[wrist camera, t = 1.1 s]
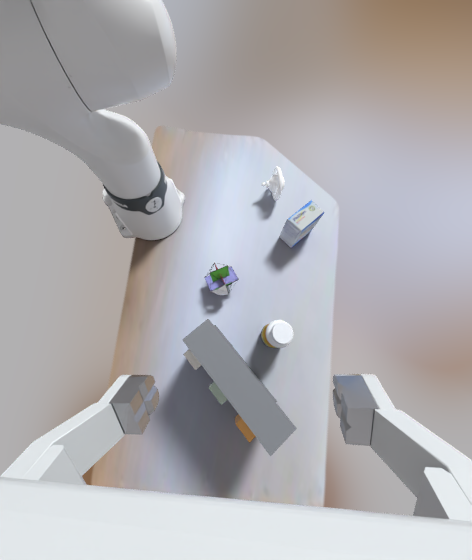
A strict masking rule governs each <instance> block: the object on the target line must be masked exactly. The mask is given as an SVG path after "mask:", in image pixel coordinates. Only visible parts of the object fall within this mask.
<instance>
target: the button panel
mask: <svg viewBox="0 0 472 560" xmlns="http://www.w3.org/2000/svg"><path fill="white" fill-rule="evenodd" d="M183 341H184V343H185V344H186V345H187V347H188V348H189V349H190V351H191V352H192V353H193V355H194V356H195V357H196V358H197V360H198V361H199V362H200V364H201V365H202V366H203V368H204V369H205V370H206V372H207V373H208V374H209V376H210V377H211V378H212V380H213V381H214V382H215V384H216V385H217V386H218V387H219V389H220V390H221V391H222V393H223V394H224V395H225V397H226V398H227V399H228V401H229V402H230V403H231V405H232V406H233V407H234V409H235V410H236V411H237V413H238V414H239V415H240V416H241V418H242V419H243V420H244V422H245V423H246V424H247V426H248V427H249V428H250V430H251V431H252V432H253V434H254V435H255V436H256V438H257V439H258V440H259V442H260V443H261V444H262V445H263V447H264V448H265V449H266V451H267V452H268V453H269V455H270V456H271V455H272V454H273V453H274V452H275V451H276V450H277V449H278V448H279V447H280V446H281V445H282V444H283V442H284V441H285V440H286V439H287V438H288V437H289V436H290V435H291V434H292V433H293V432H294V431H295V430H296V429H297V428H296V427H295V426H294V425H293V423H292V422H291V421H290V420H289V418H288V417H287V416H286V415H285V414H284V412H283V411H282V410H281V409H280V407H279V406H278V405H277V404H276V402H277V401H276V400H275V398H274V397H273V396H272V395H271V393H270V392H269V391H268V390H267V388H266V387H265V386H264V385H263V383H262V382H261V381H260V380H259V379H258V377H257V376H256V375H255V374H254V372H253V371H252V370H251V369H250V367H249V366H248V365H247V364H246V362H245V361H244V360H243V359H242V357H241V356H240V355H239V354H238V353H237V351H236V350H235V349H234V348H233V346H232V345H231V344H230V343H229V341H228V340H227V339H226V338H225V336H224V335H223V334H222V333H221V331H220V330H219V329H218V328H217V327H216V325H213V324H212V323H211V322H210V320H209V319H207V320H206V321H205V322H203V323H202V324H201V325H200V326H199V327H197V328H196V329H195V330H194V331H192V332H191V333H190V334H189V335H188V336H186V337H185V338H184V339H183Z"/></svg>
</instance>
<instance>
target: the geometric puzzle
mask: <svg viewBox="0 0 472 560" xmlns="http://www.w3.org/2000/svg"><path fill="white" fill-rule="evenodd" d="M214 264H215V262H214ZM217 264H218V263H217ZM215 267H216V265H215ZM211 268H212V267H211ZM211 270H212V269H211ZM209 271H210V270H209ZM210 272H211V271H210ZM207 274H208V273H207ZM205 280H206V282H207V284H208V286H209V289H210V291H211V292H213V293H215V294H217V295H229V293H228V290H227V287H226V286H227V285H229V284H232V282H233V281H234V282H235V281H237V280H239V279H238V278H237V276H236V274H235V272H234V270H233V269H232V266H230V267H229V268H228V265H226V266H225V267H223V268H220V269H217V267H216V271H213V272H211V273H210V276H208V277H206V276H205ZM229 291H230V290H229Z"/></svg>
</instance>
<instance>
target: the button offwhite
mask: <svg viewBox="0 0 472 560" xmlns="http://www.w3.org/2000/svg"><path fill="white" fill-rule="evenodd" d="M183 355H184V356H185V357H186V359H187V360H188V361H189V363H190V364H191V365H192V367H193V368H194V369H195V370H196V369H198V368H199V367H200V366H201V364H200V362H199V361H198V360H197V358H196V357H195V356H194V355H193V353H192V352H191V351H190V349H189V350H188V351H187V352H185V353H184V354H183Z"/></svg>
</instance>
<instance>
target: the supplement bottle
mask: <svg viewBox="0 0 472 560" xmlns="http://www.w3.org/2000/svg"><path fill="white" fill-rule="evenodd" d="M261 338H262V341H263V342H264V343H265V344H266V345H267V346H269V347H272V348H283V347H286V346H287V345H289V344H290V343H291V341H292V338H293V329H292V327H291V326H290V325H289V324H288V323H286V322H285V321H282V320H275V321H273V322H271V323H269V324H267V325H266V326H264V328H263V329H262V332H261Z"/></svg>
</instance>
